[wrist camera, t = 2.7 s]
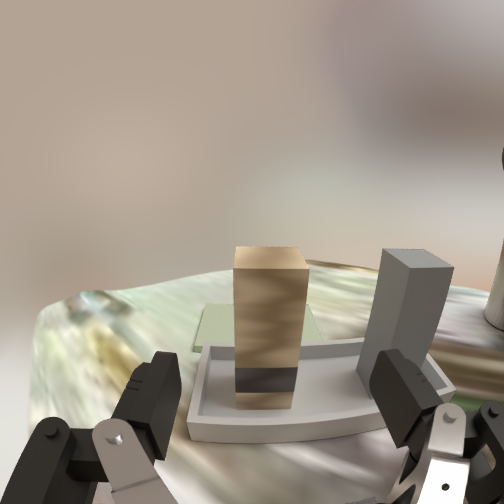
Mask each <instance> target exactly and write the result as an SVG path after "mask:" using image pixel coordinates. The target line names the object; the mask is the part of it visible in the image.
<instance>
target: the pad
mask: <svg viewBox="0 0 504 504" xmlns="http://www.w3.org/2000/svg"><path fill="white" fill-rule="evenodd" d="M310 341H323V339H322V337H321V334H320V332H319V329H318V327H317V324H316V322H315V319H314V317H313V314H312V312H311V310H310V307H309V305H308V304H306V307H305V316H304V324H303V332H302V340H301V342H310ZM204 342H234V304H206V305H205V308H204V312H203V315H202V319H201V322H200V326H199V330H198V333H197V337H196V340H195V344H194V349H195V352H202V348H203V344H204Z"/></svg>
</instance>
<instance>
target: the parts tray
mask: <svg viewBox="0 0 504 504" xmlns="http://www.w3.org/2000/svg"><path fill="white" fill-rule="evenodd" d="M363 342H364V338H355V339H343V340H328V341H310V342H301V348H300V355H299V362H298V371H297V378H296V384H295V390H294V394H293V400H292V405H291V409H278V410H236V392H235V344H234V342H204V344H203V348H202V353H201V357H200V361H199V366H198V370H197V375H196V379H195V384H194V389H193V393H192V398H191V403H190V407H189V412H188V417H187V426H188V430H189V433H190V437H191V440H192V441H202V442H217V443H285V442H299V441H310V440H319V439H327V438H334V437H340V436H346V435H352V434H358V433H363V432H368V431H372V430H377V429H381V428H385V427H387V426H386V424H385V421H384V419H383V417H382V415H381V413H380V411H379V409H378V407H377V405H376V403H375V400H374V399H372V400H370V399H369V396H368V394H367V392H366V390H365V388H364V386H363V383H362V381H361V379H360V377H359V375H358V373H357V371H356V367H357V364H358V360H359V357H360V353H361V350H362V346H363ZM420 370H421V371H422V373H423V375H425V377H426V378H427V381H429V382H430V383H431V385H432V386H433V388H434V389H435V390H436V392H437V393H438V395H439V396H440V398H441V399H442V400H443V402H444V403H449V402H450V400H451V398H452V397H453V395H454V393H455V392H456V390H457V389H456V388H455V387H454V385H453V384H452V383H451V382H450V380H449V379H448V378H447V376H446V375H445V374H444V372H443V371H442V370H441V369H440V367H439V366H438V365H437V364H436V362H435V361H434V360H433V359H432V357H431V356H430V355H429V354H428V353H427V355H426V358H425V360H424V363H423V365H422V367H421V369H420Z"/></svg>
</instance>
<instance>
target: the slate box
mask: <svg viewBox="0 0 504 504" xmlns="http://www.w3.org/2000/svg"><path fill="white" fill-rule="evenodd" d="M453 270H454V267H453V266H452V265H450V264H448V263H447V262H445V261H443V260H442V259H440V258H438V257H436V256H435V255H433V254H431V253H430V252H428V251H426V250H424V249H382V256H381V263H380V269H379V274H378V280H377V285H376V290H375V295H374V300H373V305H372V309H371V314H370V318H369V322H368V326H367V331H366V334H365V338H364V342H363V346H362V350H361V353H360V357H359V360H358V364H357V367H356V371H357V373H358V375H359V377H360V379H361V381H362V383H363V386H364V388H365V390H366V392H367V394H368V396H369V399H370V400H372V399H374V398H373V396H372V394H371V392H370V389H369V380H370V376H371V373H372V371H373V368H374V365H375V362H376V359H377V356H378V354H379V352H380V351H383V350H390V349H398V350H399V351H400V352H401V353H402V355H403V356H404V357H405V359H409V360H410V361H412V362H413V363H415V364H416V365H417V366H418V367H419V368H420V369H421V367H422V365H423V363H424V360H425V358H426V355H427V353H428V350H429V348H430V345H431V343H432V340H433V337H434V334H435V332H436V329H437V326H438V323H439V320H440V317H441V314H442V311H443V307H444V304H445V301H446V297H447V294H448V290H449V286H450V283H451V278H452V274H453Z"/></svg>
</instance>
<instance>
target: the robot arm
mask: <svg viewBox="0 0 504 504" xmlns="http://www.w3.org/2000/svg"><path fill="white" fill-rule="evenodd" d="M502 164H503V169H504V149H503V153H502ZM484 316H485V318H486V319H487V321H488V322H490V323H491V324H492V325H493V326H495V327H497V328H499V329H501V330H504V241H503V247H502V251H501V256H500V260H499V264H498V267H497V271H496V275H495V279H494V282H493V286H492V289H491V293H490V296H489V299H488V302H487V305H486V309H485V312H484ZM181 388H182V385H181V377H180V371H179V365H178V358H177V354H176V353H171V352H161V351H157V352H156V353H155V355H154V357H153V359H152V361H151V363H145V362H143V363H142V364H141V365H139V366H138V367H137V368H136V369H135V370H134V371H133V373H132V375H131V377H130V381H128V383H127V385H126V389H125V390H124V392H123V394H122V396H121V398H120V400H119V402H118V404H117V406H116V408H115V410H114V413H113V415H112V417H111V418H110V419H106V420H103V421H101V422H100V423H98V424H97V425H96V426H95V428H93V429H77V428H70V427H69V426H68V424H67V423H66V422H65V421H64V420H63V419H61V418H58V417H48V418H45V419H43V420H41V421H40V422H39V423H38V424H37V426H36V428H35V429H34V431H33V433H32V435H31V437H30V439H29V441H28V442H27V444H26V447H25V448H24V450H23V452H22V454H21V456H20V458H19V460H18V463H17V465H16V467H15V469H14V471H13V473H12V475H11V478H10V480H9V482H8V484H7V487H6V489H5V492H4V494H3V496H2V499H1V502H0V504H92V502H93V498H94V495H95V491H96V488H97V484H98V482H110V484H111V487H112V490H113V491H111V494H112V497H113V499H114V501H115V504H178V503H177V501H176V500H175V498H174V497H173V496H172V494H171V493H170V491H169V490H168V488H167V487H166V485H165V484H164V482H163V481H162V479H161V478H160V477H159V475H158V474H157V472H156V470H155V469H154V467H153V466H154V462H155V459H157V460H163V461H165V457H166V452H167V448H168V444H169V440H170V436H171V432H172V428H173V424H174V420H175V416H176V412H177V408H178V404H179V400H180V397H181ZM369 389H370V392H371V394H372V396H373V398H374V400H375V403H376V405H377V407H378V409H379V411H380V413H381V415H382V417H383V419H384V421H385V424H386V426H387V428H388V430H389V432H390V434H391V437H392V439H393V441H394V443H395V445H396V448H400V447H404V446H408V448H409V450H408V451H407V453H406V455H405V458H404V461H403V464H402V467H401V469H400V472H399V475H398V477H397V480H396V482H395V485H394V487H393V489H392V491H391V492H390V494H389V495H388V497H387V498H386V499H385V501H384V503H377V501H376V498H375V497H372V498H368V499H364V500H360V501H356V502H352V503H347V504H462V503H463V498H464V494H465V496H466V498H467V501H468V503H469V504H504V407H503V406H502V405H501V404H500V403H498V402H496V401H492V400H489V401H486V402H484V403H483V404H482V406H481V407H480V409H479V410H478V411H473V412H464V411H463V410H462V408H460V407H459V406H457V405H455V404H452V403H444V402H443V400H442V399H441V398H440V396H439V395H438V393H437V392H436V390H435V389H434V388H433V386H432V385H431V383H430V382H429V381H427V378H426V377H425V375H423V373H422V371H421V370H420V368H419V367H418V366H417V365H416V364H415V363H413V362H412V361H410V360H409V359H405V357H404V356H403V355H402V353H401V352H400V351H399V350H398V349H390V350H383V351H380V352H379V354H378V356H377V359H376V362H375V365H374V368H373V371H372V373H371V376H370V380H369ZM486 443H487V445H488V447H489V448H490V450H491V452H492V454H493V455H494V457H495V460H496V465H495V468H494V469H493V470H491V468H490V466H489V464H488V462H487V460H486V458H485V457H484V455H483V453H482V451H481V449H482V448H483V447H484V445H485V444H486Z"/></svg>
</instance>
